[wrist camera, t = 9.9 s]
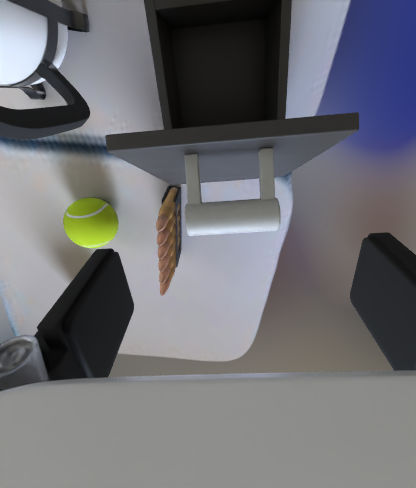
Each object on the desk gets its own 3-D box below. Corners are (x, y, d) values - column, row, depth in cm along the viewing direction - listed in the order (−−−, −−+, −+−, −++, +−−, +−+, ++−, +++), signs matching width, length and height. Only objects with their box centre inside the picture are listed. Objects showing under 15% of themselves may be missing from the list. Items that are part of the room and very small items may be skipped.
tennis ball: (128, 232, 42) (113, 257, 36) (85, 233, 42) (62, 258, 36) (119, 189, 38) (100, 208, 32) (71, 191, 38) (44, 210, 32)
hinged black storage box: (163, 22, 28) (143, -2, 21) (272, 9, 28) (293, -21, 20) (181, 160, 36) (171, 179, 28) (268, 153, 35) (282, 171, 27)
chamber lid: (104, 134, 12) (116, 243, 13) (359, 111, 12) (359, 229, 12) (170, 177, 28) (174, 226, 28) (283, 168, 27) (285, 219, 27)
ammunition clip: (167, 185, 38) (149, 222, 27) (181, 186, 38) (167, 223, 27) (169, 249, 43) (154, 300, 33) (181, 250, 43) (169, 301, 33)
